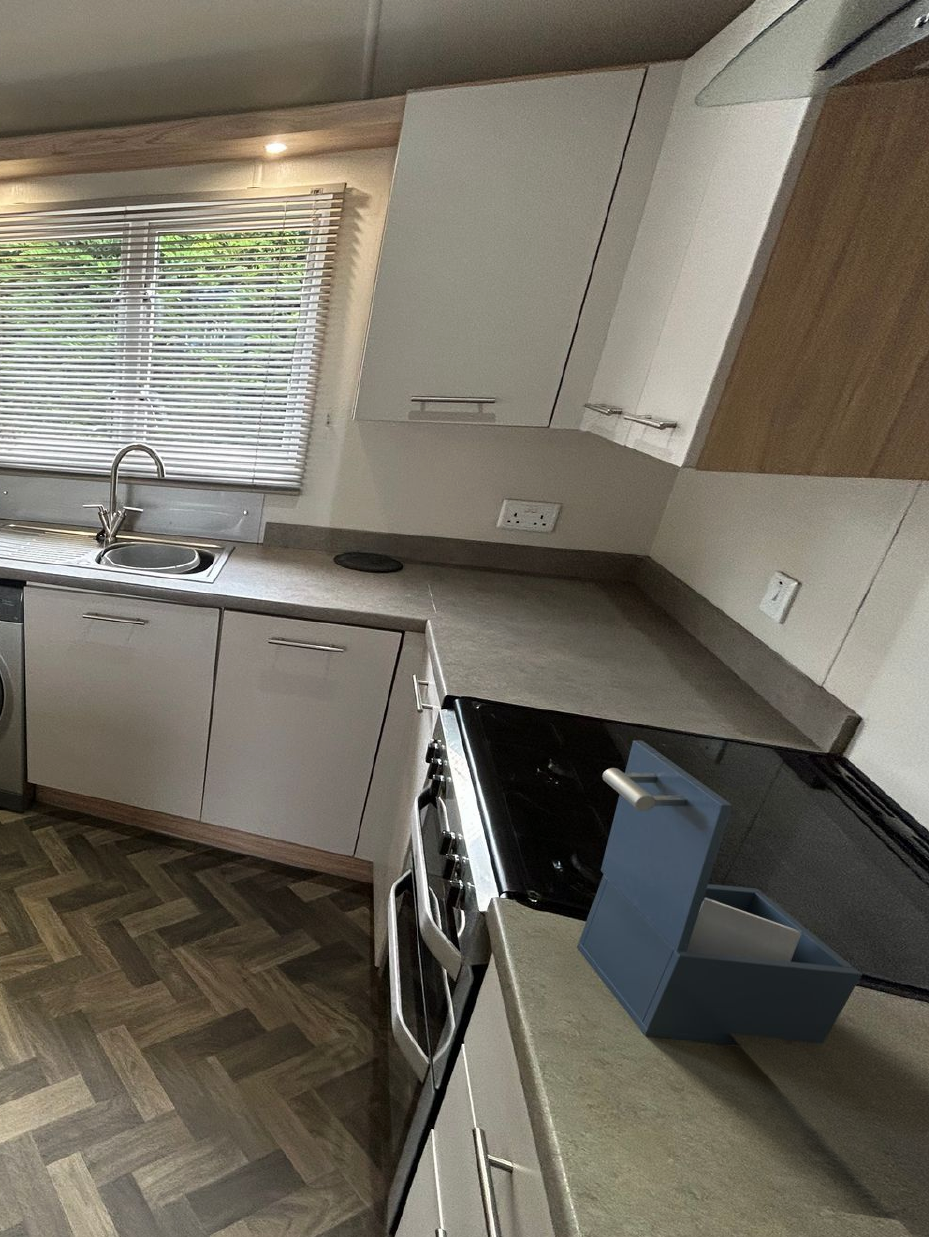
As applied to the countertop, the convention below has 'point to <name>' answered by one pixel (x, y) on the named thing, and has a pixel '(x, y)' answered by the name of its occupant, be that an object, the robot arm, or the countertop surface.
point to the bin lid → (663, 841)
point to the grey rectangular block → (741, 934)
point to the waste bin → (714, 976)
